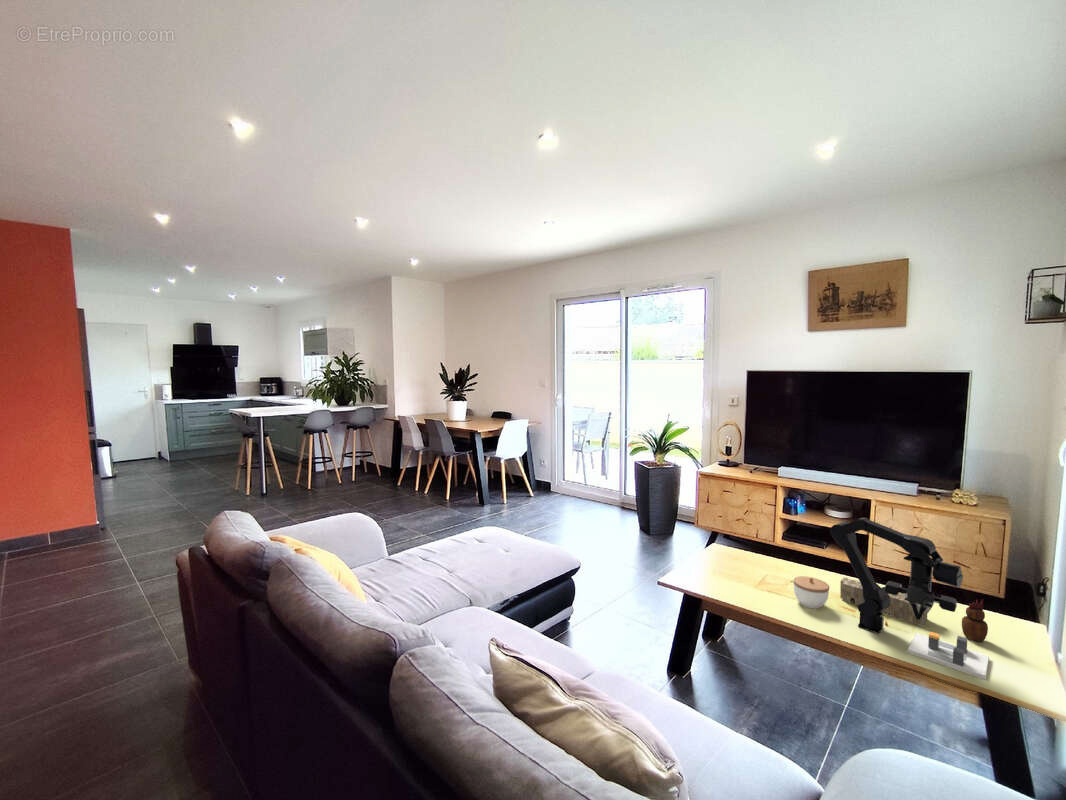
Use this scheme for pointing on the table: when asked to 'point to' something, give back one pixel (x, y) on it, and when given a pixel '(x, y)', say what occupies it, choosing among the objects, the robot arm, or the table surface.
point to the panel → (951, 655)
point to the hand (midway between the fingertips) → (918, 619)
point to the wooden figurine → (975, 622)
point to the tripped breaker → (933, 640)
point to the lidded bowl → (811, 591)
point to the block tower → (895, 609)
